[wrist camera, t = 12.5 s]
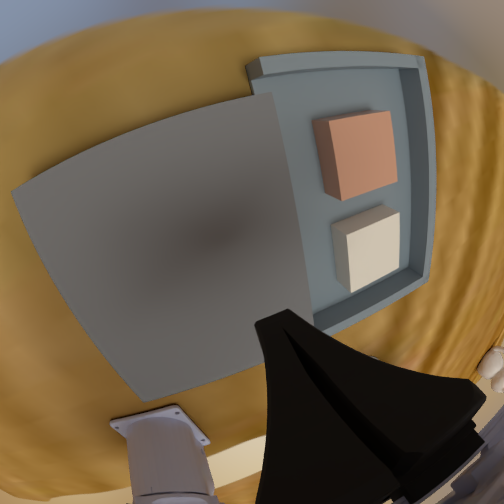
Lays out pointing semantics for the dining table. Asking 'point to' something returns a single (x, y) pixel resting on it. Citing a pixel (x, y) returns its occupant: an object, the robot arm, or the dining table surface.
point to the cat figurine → (493, 368)
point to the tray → (393, 195)
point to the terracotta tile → (356, 152)
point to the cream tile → (366, 246)
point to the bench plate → (175, 243)
